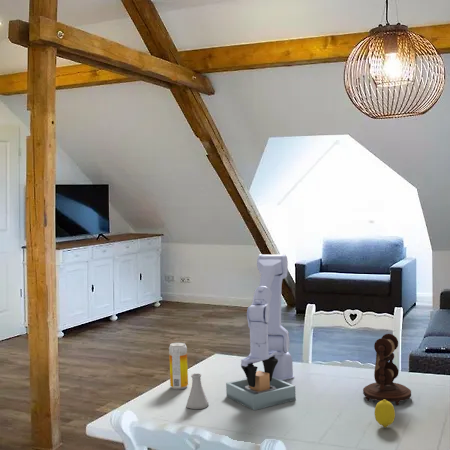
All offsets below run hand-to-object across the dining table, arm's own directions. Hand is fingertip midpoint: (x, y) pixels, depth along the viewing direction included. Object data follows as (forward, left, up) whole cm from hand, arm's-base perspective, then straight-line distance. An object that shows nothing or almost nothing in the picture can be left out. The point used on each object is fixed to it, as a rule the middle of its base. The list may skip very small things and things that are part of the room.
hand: (260, 383), depth 210 cm
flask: (+20, -6, -5) cm, 21 cm away
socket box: (0, 0, -5) cm, 5 cm away
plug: (0, 0, -4) cm, 4 cm away
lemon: (-14, +41, -5) cm, 44 cm away
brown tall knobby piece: (-32, +24, -5) cm, 40 cm away
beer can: (+16, -26, -5) cm, 31 cm away
